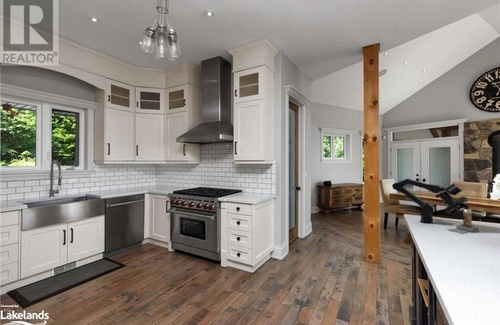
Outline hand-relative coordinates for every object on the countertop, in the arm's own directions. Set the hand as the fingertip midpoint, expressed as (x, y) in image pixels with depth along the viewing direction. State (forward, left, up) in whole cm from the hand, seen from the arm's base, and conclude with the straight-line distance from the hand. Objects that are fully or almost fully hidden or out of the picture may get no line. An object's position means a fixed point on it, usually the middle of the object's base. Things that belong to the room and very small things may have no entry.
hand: (467, 218), depth 150 cm
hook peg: (0, 0, -8) cm, 8 cm away
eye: (0, 0, -8) cm, 8 cm away
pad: (-1, -9, -8) cm, 12 cm away
